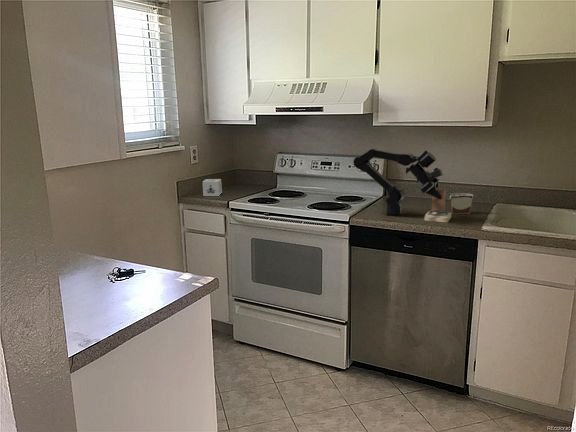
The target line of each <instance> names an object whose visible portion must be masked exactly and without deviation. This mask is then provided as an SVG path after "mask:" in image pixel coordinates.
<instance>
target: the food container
mask: <svg viewBox="0 0 576 432" xmlns="http://www.w3.org/2000/svg"><path fill="white" fill-rule="evenodd" d="M449 199H450V213H451V215H458V214H459V215H466V214H467V215H470V214H471V209H472V203H473V199H475V197H474V194H472V193H468V192H467V193H466V192H455V193H451V194H450V195H449Z"/></svg>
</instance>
